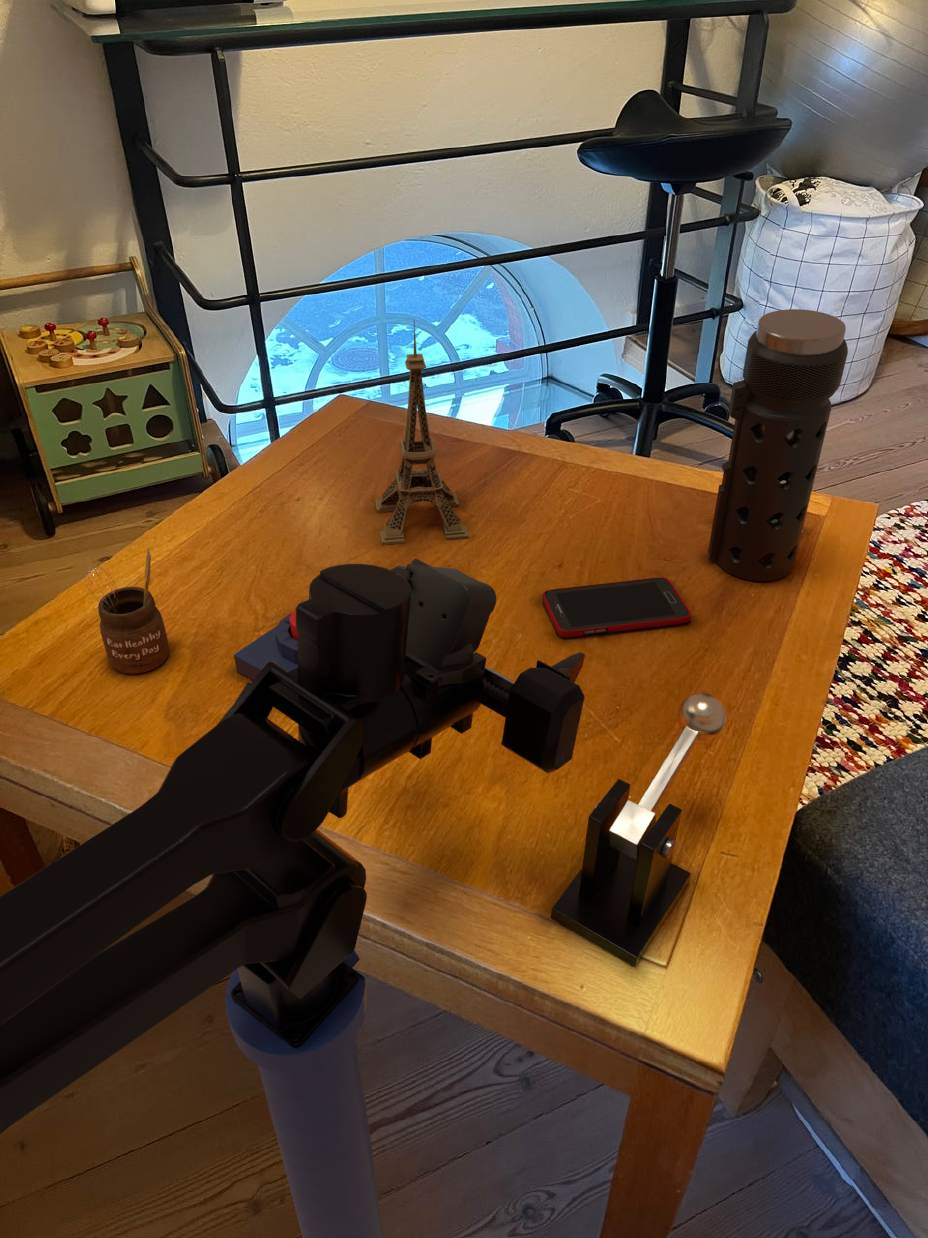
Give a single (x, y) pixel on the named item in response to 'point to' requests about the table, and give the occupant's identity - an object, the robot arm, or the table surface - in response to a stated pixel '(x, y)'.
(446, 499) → the eiffel tower
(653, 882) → the bracket
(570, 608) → the cell phone
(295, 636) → the button
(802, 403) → the water bottle
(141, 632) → the utensil holder
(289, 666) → the control box
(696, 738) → the lever
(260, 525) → the table surface
